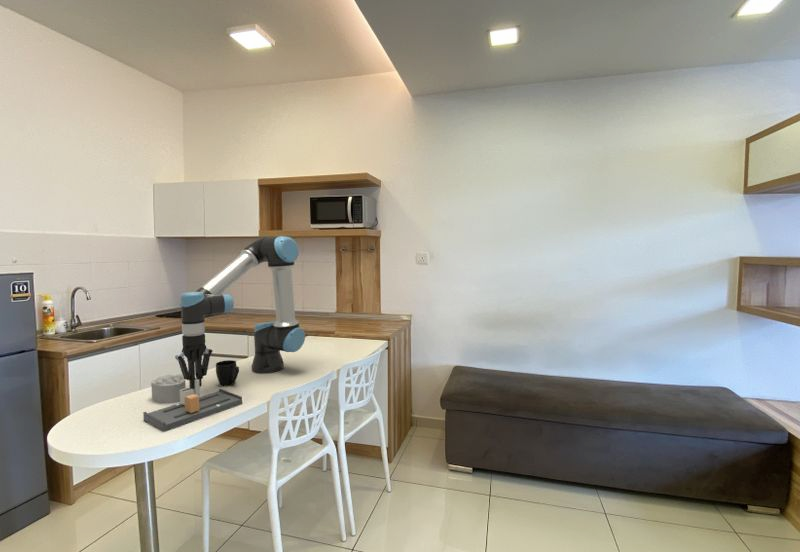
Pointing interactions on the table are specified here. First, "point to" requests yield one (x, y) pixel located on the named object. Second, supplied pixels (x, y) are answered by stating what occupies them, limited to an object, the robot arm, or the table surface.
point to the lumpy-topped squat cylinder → (167, 389)
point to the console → (179, 416)
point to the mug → (227, 372)
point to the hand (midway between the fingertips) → (196, 396)
